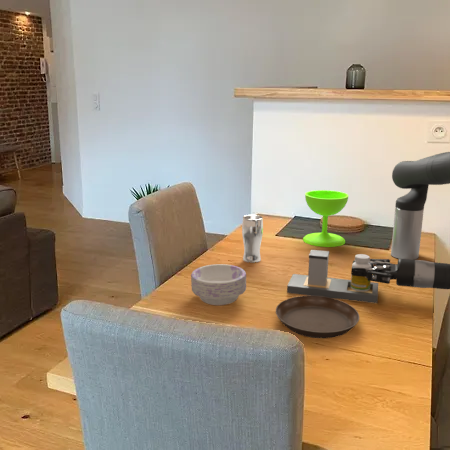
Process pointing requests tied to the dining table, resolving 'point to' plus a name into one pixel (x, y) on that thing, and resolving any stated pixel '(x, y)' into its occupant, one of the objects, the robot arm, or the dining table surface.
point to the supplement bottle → (359, 281)
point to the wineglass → (325, 215)
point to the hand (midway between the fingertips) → (352, 267)
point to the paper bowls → (218, 283)
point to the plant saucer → (317, 316)
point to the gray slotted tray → (327, 282)
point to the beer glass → (252, 237)
